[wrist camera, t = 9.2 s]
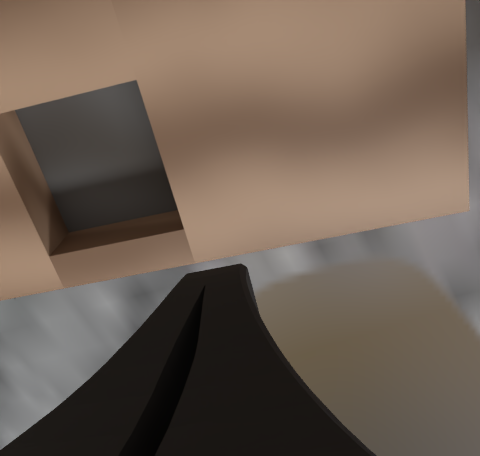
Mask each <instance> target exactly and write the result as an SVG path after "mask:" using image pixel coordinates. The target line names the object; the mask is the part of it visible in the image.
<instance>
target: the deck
mask: <svg viewBox="0 0 480 456" xmlns="http://www.w3.org/2000/svg"><path fill="white" fill-rule="evenodd" d="M466 211H469V167H468V114H467V61H466V8H465V0H0V301H1V300H6V299H11V298H16V297H21V296H27V295H32V294H37V293H42V292H48V291H53V290H58V289H63V288H69V287H74V286H79V285H84V284H89V283H95V282H100V281H105V280H110V279H116V278H121V277H126V276H131V275H137V274H142V273H147V272H152V271H157V270H163V269H168V268H173V267H178V266H184V265H189V264H194V263H199V262H204V261H210V260H215V259H220V258H225V257H231V256H236V255H241V254H246V253H252V252H257V251H262V250H267V249H272V248H278V247H283V246H288V245H293V244H299V243H304V242H309V241H314V240H320V239H325V238H330V237H335V236H340V235H346V234H351V233H356V232H361V231H367V230H372V229H377V228H382V227H388V226H393V225H398V224H403V223H408V222H414V221H419V220H424V219H429V218H435V217H440V216H445V215H450V214H455V213H461V212H466Z"/></svg>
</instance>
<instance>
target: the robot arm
mask: <svg viewBox="0 0 480 456" xmlns="http://www.w3.org/2000/svg"><path fill="white" fill-rule="evenodd" d="M0 456H376V455H375V454H374V453H373V452H371V451H370V450H369V449H368V448H367V447H366V446H365V445H364V444H363V443H362V442H361V441H360V440H359V439H358V438H357V437H356V436H355V435H353V434H352V433H351V432H350V431H349V430H348V429H347V428H346V427H345V426H344V425H343V424H342V423H341V422H340V421H339V420H338V419H337V418H336V417H335V416H334V415H333V413H331V411H330V410H329V409H328V408H327V407H326V406H325V405H324V404H323V403H322V402H321V401H320V399H319V398H318V397H317V396H316V395H315V394H314V393H313V392H312V391H311V390H310V389H309V387H308V386H307V385H306V384H305V383H304V382H303V380H302V379H301V378H300V376H299V375H298V374H297V373H296V371H295V370H294V369H293V367H292V366H291V365H290V363H289V362H288V361H287V359H286V358H285V357H284V355H283V354H282V352H281V351H280V349H279V348H278V346H277V345H276V343H275V341H274V340H273V338H272V336H271V335H270V333H269V331H268V330H267V328H266V326H265V325H264V323H263V321H262V319H261V317H260V314H259V311H258V307H257V303H256V299H255V296H254V292H253V288H252V284H251V280H250V277H249V273H248V269H247V267H246V266H244V265H242V264H236V265H231V266H225V267H220V268H215V269H210V270H204V271H199V272H194V273H188V274H186V275H185V276H184V277H183V278H182V279H181V280H180V281H179V283H178V284H177V285H176V286H175V287H174V288H173V290H172V291H171V292H170V293H169V294H168V295H167V297H166V298H165V299H164V300H163V301H162V303H161V304H160V305H159V306H158V307H157V308H156V310H155V311H154V312H153V313H152V314H151V315H150V316H149V318H148V319H147V320H146V321H145V322H144V323H143V325H142V326H141V327H140V328H139V329H138V330H137V331H136V332H135V333H134V334H133V335H132V336H131V338H130V339H129V340H128V341H127V342H126V343H125V344H124V345H123V346H122V347H121V348H120V349H119V350H118V351H117V352H116V353H115V354H114V355H113V356H112V357H111V358H110V359H109V361H108V362H107V363H106V364H105V365H103V366H102V367H101V368H100V369H99V370H98V371H97V372H96V373H95V374H94V375H93V376H92V377H91V378H90V379H89V380H88V381H86V382H85V383H84V384H83V385H82V386H81V387H80V388H78V389H77V390H76V391H75V392H74V393H73V394H72V395H70V396H69V397H68V398H67V399H66V400H65V401H64V402H62V403H61V404H60V405H59V406H57V407H56V408H55V409H54V410H53V411H51V412H50V413H49V414H47V415H46V416H45V417H43V418H42V419H41V420H39V421H38V422H37V423H36V424H34V425H33V426H32V427H30V428H29V429H28V430H26V431H25V432H24V433H23V434H21V435H20V436H19V437H17V438H16V439H15V440H13V441H12V442H11V443H9V444H8V445H7V446H5V447H4V448H3V449H1V450H0Z"/></svg>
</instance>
